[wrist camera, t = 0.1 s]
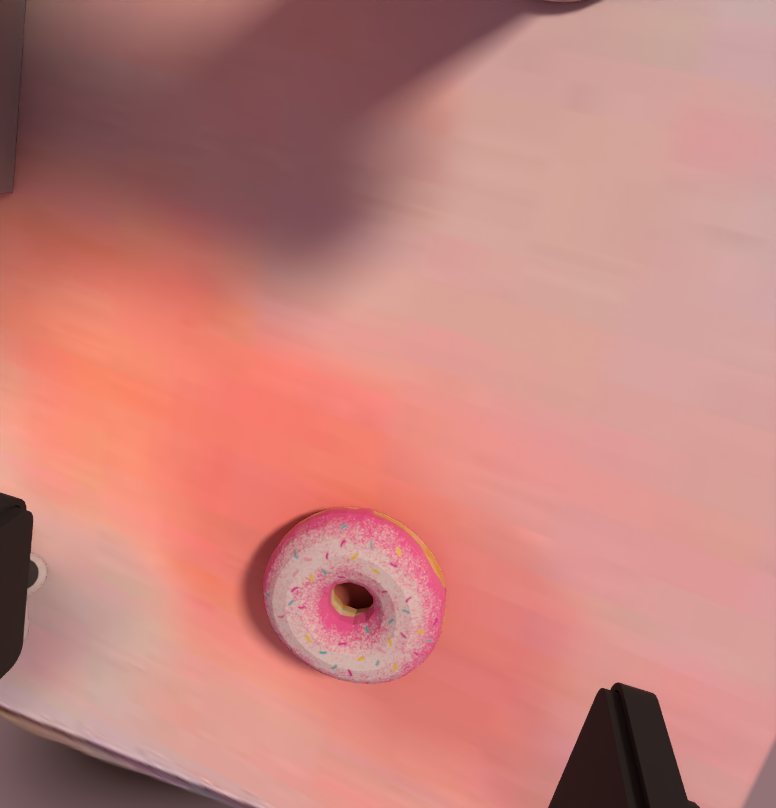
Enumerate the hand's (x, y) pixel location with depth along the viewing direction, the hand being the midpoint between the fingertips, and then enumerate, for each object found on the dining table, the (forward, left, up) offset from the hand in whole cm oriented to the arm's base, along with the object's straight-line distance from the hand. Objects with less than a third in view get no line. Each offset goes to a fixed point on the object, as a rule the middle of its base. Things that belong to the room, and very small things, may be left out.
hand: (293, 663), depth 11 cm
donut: (+22, -1, -37) cm, 43 cm away
